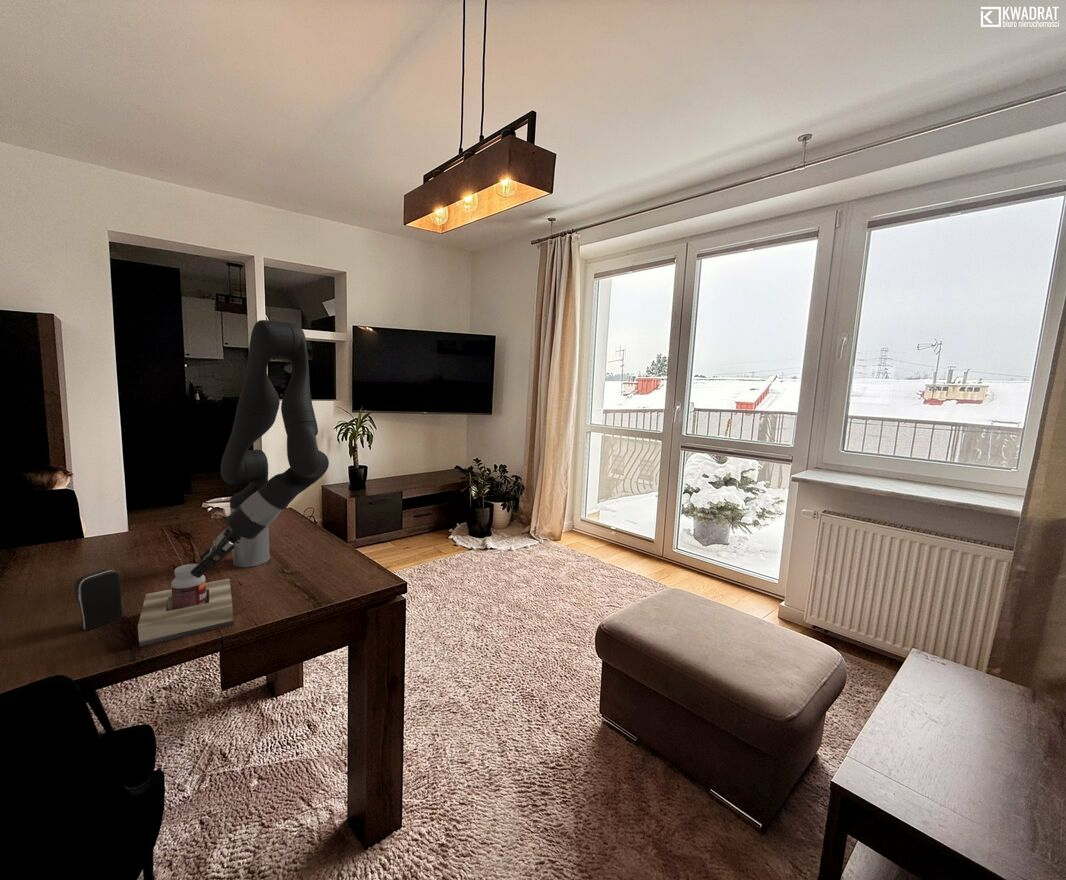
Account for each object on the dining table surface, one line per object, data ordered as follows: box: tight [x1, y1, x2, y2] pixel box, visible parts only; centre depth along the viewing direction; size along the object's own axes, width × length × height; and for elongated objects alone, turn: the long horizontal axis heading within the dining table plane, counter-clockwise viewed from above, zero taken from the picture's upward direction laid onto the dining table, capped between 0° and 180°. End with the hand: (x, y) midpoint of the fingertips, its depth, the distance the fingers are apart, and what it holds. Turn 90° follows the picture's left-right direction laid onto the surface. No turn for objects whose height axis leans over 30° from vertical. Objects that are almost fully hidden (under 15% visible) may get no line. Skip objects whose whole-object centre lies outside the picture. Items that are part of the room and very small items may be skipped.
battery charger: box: [74, 569, 124, 631], centre depth 100 cm, size 7×4×11 cm, turn 160°
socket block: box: [137, 578, 234, 648], centre depth 103 cm, size 16×16×4 cm
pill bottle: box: [170, 563, 207, 610], centre depth 103 cm, size 6×6×11 cm
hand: (199, 567), depth 103 cm, fingers open, 8 cm apart
